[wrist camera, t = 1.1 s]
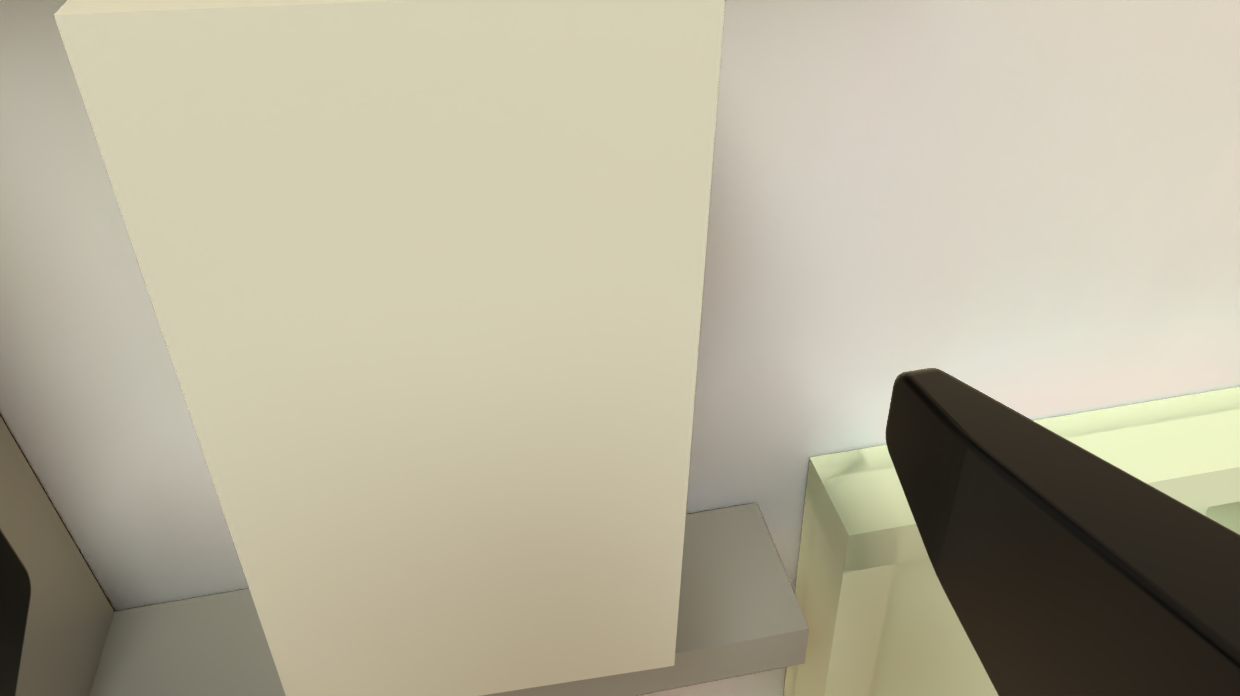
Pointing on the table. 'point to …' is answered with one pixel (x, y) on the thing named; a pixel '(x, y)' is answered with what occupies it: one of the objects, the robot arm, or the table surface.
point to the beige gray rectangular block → (427, 313)
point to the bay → (240, 655)
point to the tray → (903, 574)
